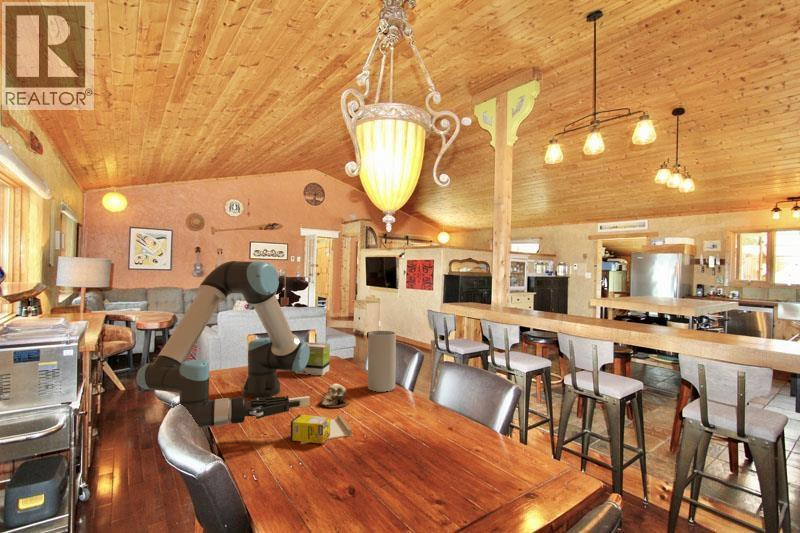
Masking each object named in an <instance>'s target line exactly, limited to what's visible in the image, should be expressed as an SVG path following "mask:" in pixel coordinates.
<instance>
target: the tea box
mask: <svg viewBox="0 0 800 533" xmlns="http://www.w3.org/2000/svg"><path fill="white" fill-rule="evenodd" d="M302 343H305V344H308V346H309V349H310V354H309V359H308V362H307V365H306V367H305V368H304V369H303V370H302V371H294V372H295V373H296V375H297V374H298V375H308V374H311V376H318V375H323V376H324V375H326V374H327V373H328V372H330V363H331V362H330V357H331V356H330V355H331V354H330V353H331V352H330V351H331V344H330V343H324V342H323V343H322V342H309V341H308V342H307V341H303V342H302ZM326 372H327V373H326ZM325 373H326V374H325Z"/></svg>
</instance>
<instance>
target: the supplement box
mask: <svg viewBox="0 0 800 533" xmlns="http://www.w3.org/2000/svg"><path fill="white" fill-rule="evenodd" d="M330 420H331V417H330V416H321V415H320V416H319V415H318V416H316V415H309V414H308V415H305V414H299V415H297V416H296V417H295V418H294V419H292V420H291V421H290V441H292V442H293V441H295V442H300V441H303V442H310V443H313V444H324V443H325V442H326V441H327V438H328V437H329V436H330Z"/></svg>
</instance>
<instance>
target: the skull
mask: <svg viewBox="0 0 800 533" xmlns="http://www.w3.org/2000/svg"><path fill="white" fill-rule="evenodd" d="M346 397H347V389H346V388H345V386H343V385H342V384H339V383H333V384H331V385H330V386H329V387H328V388H327V392H325V395H324V397H323V399H321V400H319V401H318V404H319V405H320V406H322V407H324V408H344V407H346V406H348V405H350V401H345V400H346ZM346 402H347V403H346Z"/></svg>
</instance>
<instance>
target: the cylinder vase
mask: <svg viewBox="0 0 800 533" xmlns="http://www.w3.org/2000/svg"><path fill="white" fill-rule="evenodd" d="M367 335H368V340H367V343H368V344H367V389H368V390H370V391H371V390H372V392H375V391H376V393H387V392H386V391H388V392H391V391H393V390H394V389H395V388H396V367H397V366H396V363H397V361H396V359H397V357H396V356H397V354H396V353H397V345H396V344H397V332H395V331H391V330H373V331H369V332H368V333H367Z"/></svg>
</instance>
